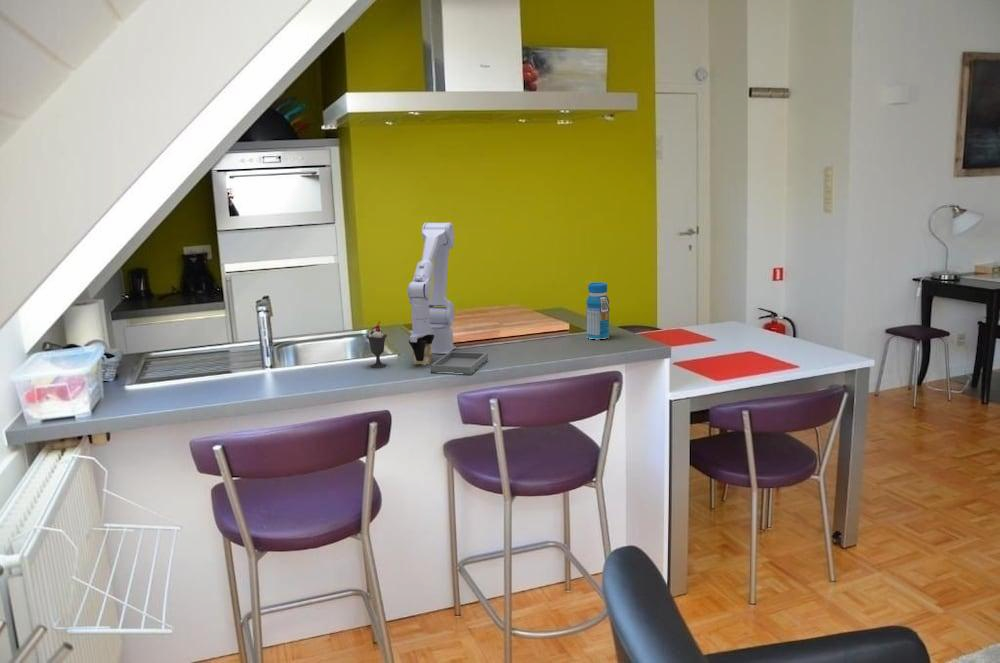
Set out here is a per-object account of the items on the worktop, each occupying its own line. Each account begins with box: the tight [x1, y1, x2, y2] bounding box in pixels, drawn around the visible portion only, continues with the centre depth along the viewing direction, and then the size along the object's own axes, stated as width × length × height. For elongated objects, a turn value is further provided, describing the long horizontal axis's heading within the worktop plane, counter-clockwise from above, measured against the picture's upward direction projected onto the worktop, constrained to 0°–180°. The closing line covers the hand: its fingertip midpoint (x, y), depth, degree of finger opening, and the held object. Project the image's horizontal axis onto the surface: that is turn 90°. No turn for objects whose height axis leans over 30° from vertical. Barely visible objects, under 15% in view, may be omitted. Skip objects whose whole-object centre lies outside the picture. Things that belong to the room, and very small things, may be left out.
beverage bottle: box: [585, 281, 611, 340], centre depth 282 cm, size 8×8×20 cm
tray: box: [430, 351, 489, 376], centre depth 250 cm, size 18×13×2 cm
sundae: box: [365, 321, 388, 369], centre depth 252 cm, size 7×7×15 cm
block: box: [412, 344, 433, 365], centre depth 255 cm, size 4×4×6 cm
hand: (422, 358), depth 255 cm, fingers closed on block, 4 cm apart
